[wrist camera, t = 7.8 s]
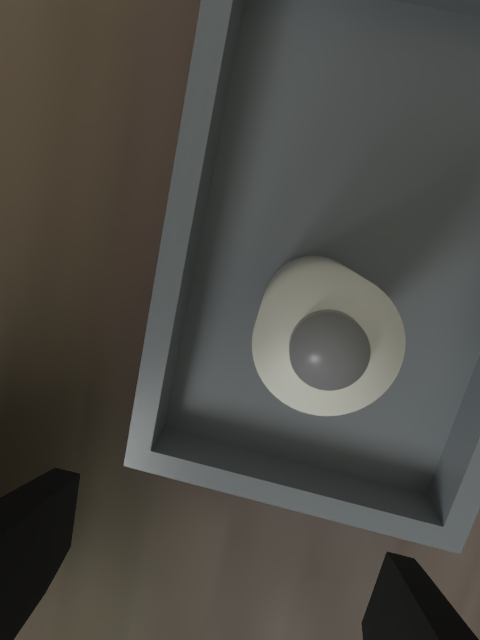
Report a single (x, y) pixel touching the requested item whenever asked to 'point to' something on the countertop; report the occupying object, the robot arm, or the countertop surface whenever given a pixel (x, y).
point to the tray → (329, 241)
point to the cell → (326, 338)
